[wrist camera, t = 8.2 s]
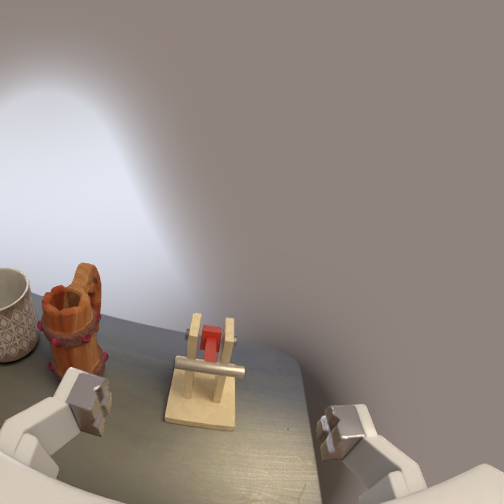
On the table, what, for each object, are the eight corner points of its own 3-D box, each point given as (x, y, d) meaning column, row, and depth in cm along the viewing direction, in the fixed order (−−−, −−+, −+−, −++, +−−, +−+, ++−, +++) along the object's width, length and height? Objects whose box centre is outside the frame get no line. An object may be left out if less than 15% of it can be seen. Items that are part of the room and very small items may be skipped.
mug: (98, 408, 30) (78, 322, 25) (47, 392, 29) (18, 305, 23) (123, 340, 44) (120, 259, 38) (80, 330, 42) (71, 250, 37)
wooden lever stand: (233, 431, 33) (253, 368, 28) (164, 421, 32) (164, 355, 27) (233, 369, 44) (249, 304, 39) (177, 360, 43) (182, 293, 38)
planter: (16, 309, 41) (6, 260, 37) (54, 339, 38) (43, 286, 34) (-30, 339, 29) (-48, 287, 25) (3, 379, 27) (-20, 324, 23)
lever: (242, 386, 24) (246, 362, 24) (173, 377, 23) (176, 351, 23) (233, 347, 35) (236, 329, 36) (185, 340, 35) (188, 322, 35)
